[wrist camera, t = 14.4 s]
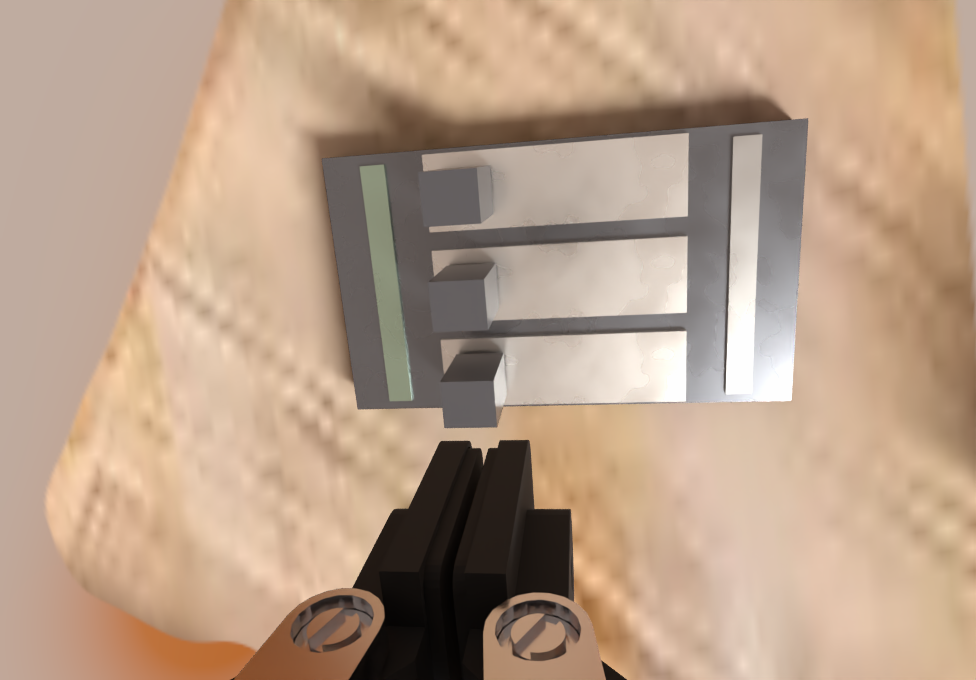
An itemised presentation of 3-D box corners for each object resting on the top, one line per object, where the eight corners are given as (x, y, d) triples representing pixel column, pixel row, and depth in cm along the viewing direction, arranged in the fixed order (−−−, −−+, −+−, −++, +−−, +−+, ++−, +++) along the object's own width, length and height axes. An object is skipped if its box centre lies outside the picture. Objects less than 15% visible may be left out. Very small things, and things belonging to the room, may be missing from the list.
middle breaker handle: (499, 307, 31) (488, 330, 27) (450, 310, 31) (433, 332, 27) (495, 262, 30) (484, 279, 26) (446, 265, 31) (428, 282, 27)
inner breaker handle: (506, 394, 32) (497, 427, 28) (460, 395, 32) (444, 427, 29) (503, 352, 31) (493, 380, 28) (456, 354, 32) (439, 382, 28)
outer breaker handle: (493, 214, 30) (481, 223, 26) (443, 217, 30) (423, 227, 26) (489, 165, 29) (476, 167, 25) (438, 169, 29) (418, 172, 25)
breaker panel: (778, 386, 33) (793, 402, 30) (369, 395, 36) (356, 411, 34) (793, 120, 29) (810, 118, 27) (336, 158, 32) (319, 158, 30)
